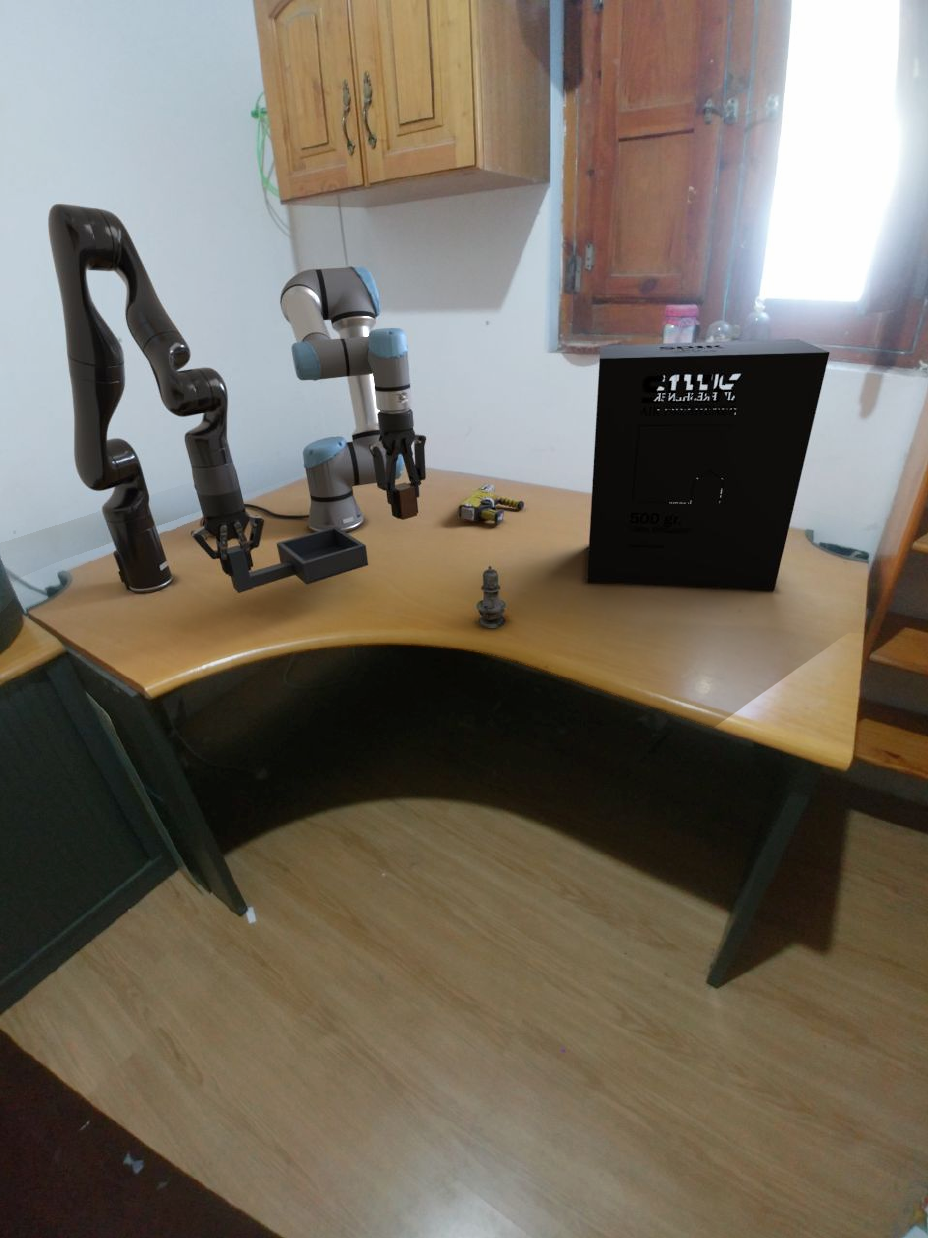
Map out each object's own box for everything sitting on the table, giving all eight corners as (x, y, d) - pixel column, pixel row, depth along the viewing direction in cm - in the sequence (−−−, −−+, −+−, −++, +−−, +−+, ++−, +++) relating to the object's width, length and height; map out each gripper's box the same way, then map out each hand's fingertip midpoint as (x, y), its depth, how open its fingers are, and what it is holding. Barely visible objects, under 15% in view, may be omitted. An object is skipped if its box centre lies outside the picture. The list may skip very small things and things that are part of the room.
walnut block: (393, 515, 140) (390, 486, 136) (408, 511, 142) (405, 482, 138) (402, 520, 137) (399, 490, 134) (417, 515, 139) (414, 486, 136)
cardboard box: (754, 550, 140) (797, 339, 118) (774, 590, 123) (829, 352, 101) (589, 545, 148) (601, 345, 125) (586, 582, 131) (599, 358, 108)
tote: (247, 603, 115) (237, 563, 110) (224, 578, 125) (214, 540, 120) (368, 565, 128) (363, 527, 123) (339, 545, 137) (333, 509, 133)
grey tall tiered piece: (504, 629, 116) (503, 573, 110) (474, 627, 117) (471, 571, 111) (508, 614, 120) (507, 559, 114) (479, 612, 122) (477, 558, 116)
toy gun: (532, 488, 178) (484, 481, 182) (510, 513, 158) (457, 504, 162) (530, 504, 181) (483, 496, 185) (509, 529, 161) (456, 520, 165)
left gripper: (183, 500, 104) (208, 589, 112) (262, 483, 111) (280, 568, 119) (172, 490, 109) (197, 576, 118) (248, 474, 116) (267, 556, 125)
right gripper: (367, 419, 120) (381, 528, 133) (437, 405, 129) (444, 509, 141) (350, 413, 126) (364, 519, 138) (418, 400, 134) (426, 501, 146)
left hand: (239, 571), depth 119 cm, fingers closed on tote, 3 cm apart
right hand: (405, 513), depth 139 cm, fingers closed on walnut block, 4 cm apart
